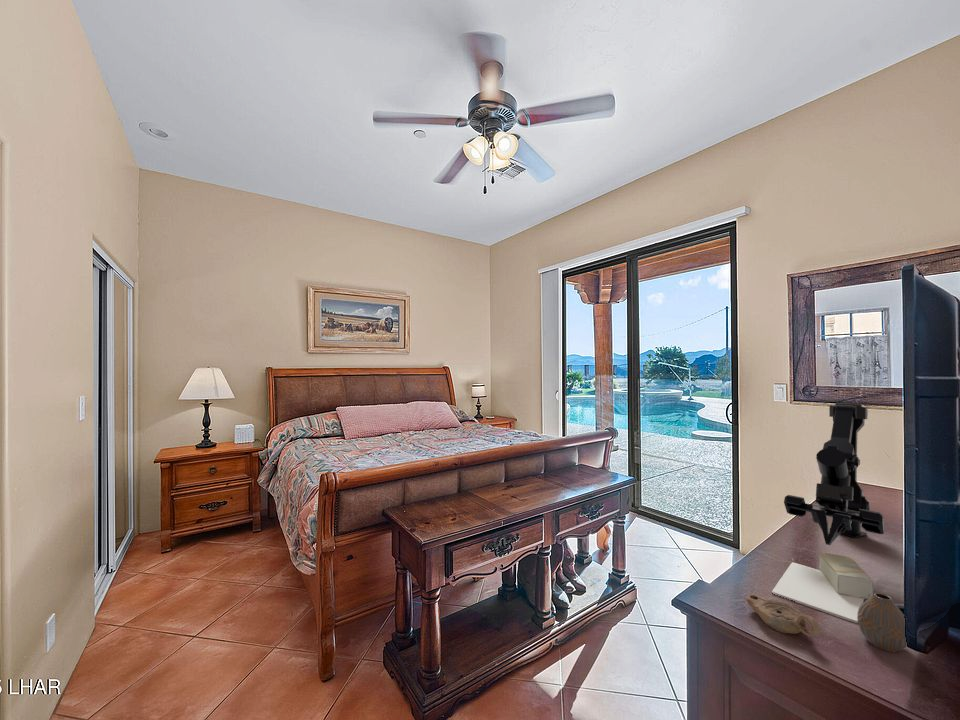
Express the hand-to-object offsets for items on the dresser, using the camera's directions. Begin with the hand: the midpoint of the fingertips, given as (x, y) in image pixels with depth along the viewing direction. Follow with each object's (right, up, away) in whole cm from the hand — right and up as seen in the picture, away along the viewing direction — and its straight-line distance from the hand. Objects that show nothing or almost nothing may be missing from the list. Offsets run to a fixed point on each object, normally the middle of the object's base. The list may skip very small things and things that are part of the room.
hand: (827, 543), depth 98 cm
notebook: (-8, -7, -7) cm, 13 cm away
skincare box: (+2, -5, 0) cm, 5 cm away
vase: (-11, -7, -25) cm, 28 cm away
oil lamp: (-26, -8, -20) cm, 33 cm away
